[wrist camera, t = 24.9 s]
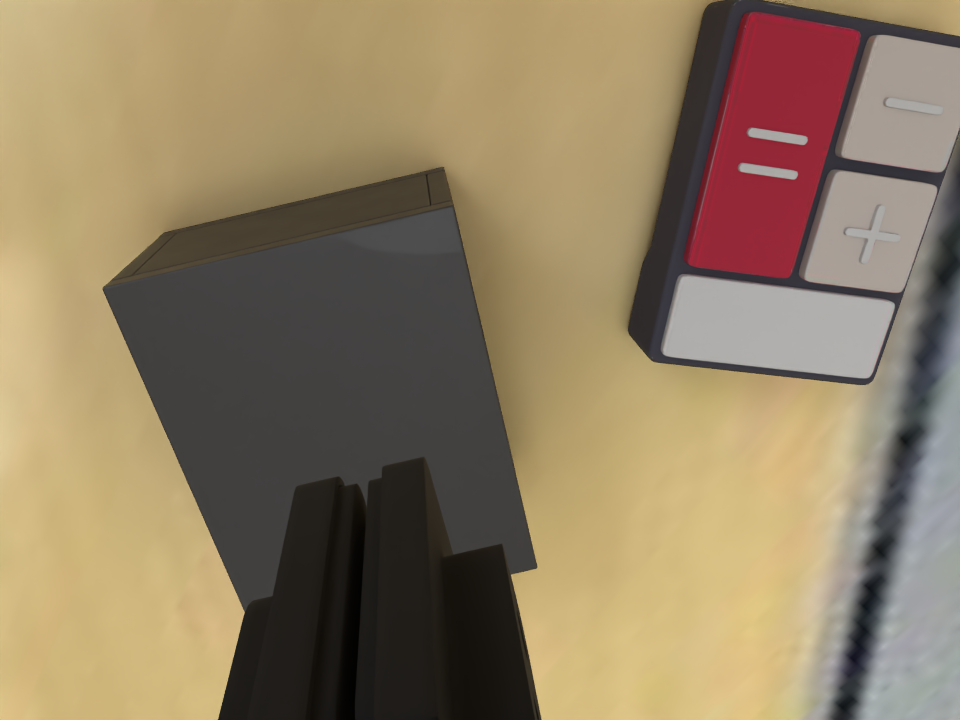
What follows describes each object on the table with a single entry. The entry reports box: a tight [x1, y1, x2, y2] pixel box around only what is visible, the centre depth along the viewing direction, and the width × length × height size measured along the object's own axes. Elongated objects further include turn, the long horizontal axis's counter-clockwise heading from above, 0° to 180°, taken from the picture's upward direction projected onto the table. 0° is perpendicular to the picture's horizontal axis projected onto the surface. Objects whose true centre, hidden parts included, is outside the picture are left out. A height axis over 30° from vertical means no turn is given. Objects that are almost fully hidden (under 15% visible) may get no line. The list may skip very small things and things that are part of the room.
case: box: [111, 167, 453, 281], centre depth 34 cm, size 16×13×7 cm
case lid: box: [103, 201, 537, 611], centre depth 31 cm, size 16×13×1 cm
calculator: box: [628, 0, 960, 385], centre depth 34 cm, size 11×4×15 cm
